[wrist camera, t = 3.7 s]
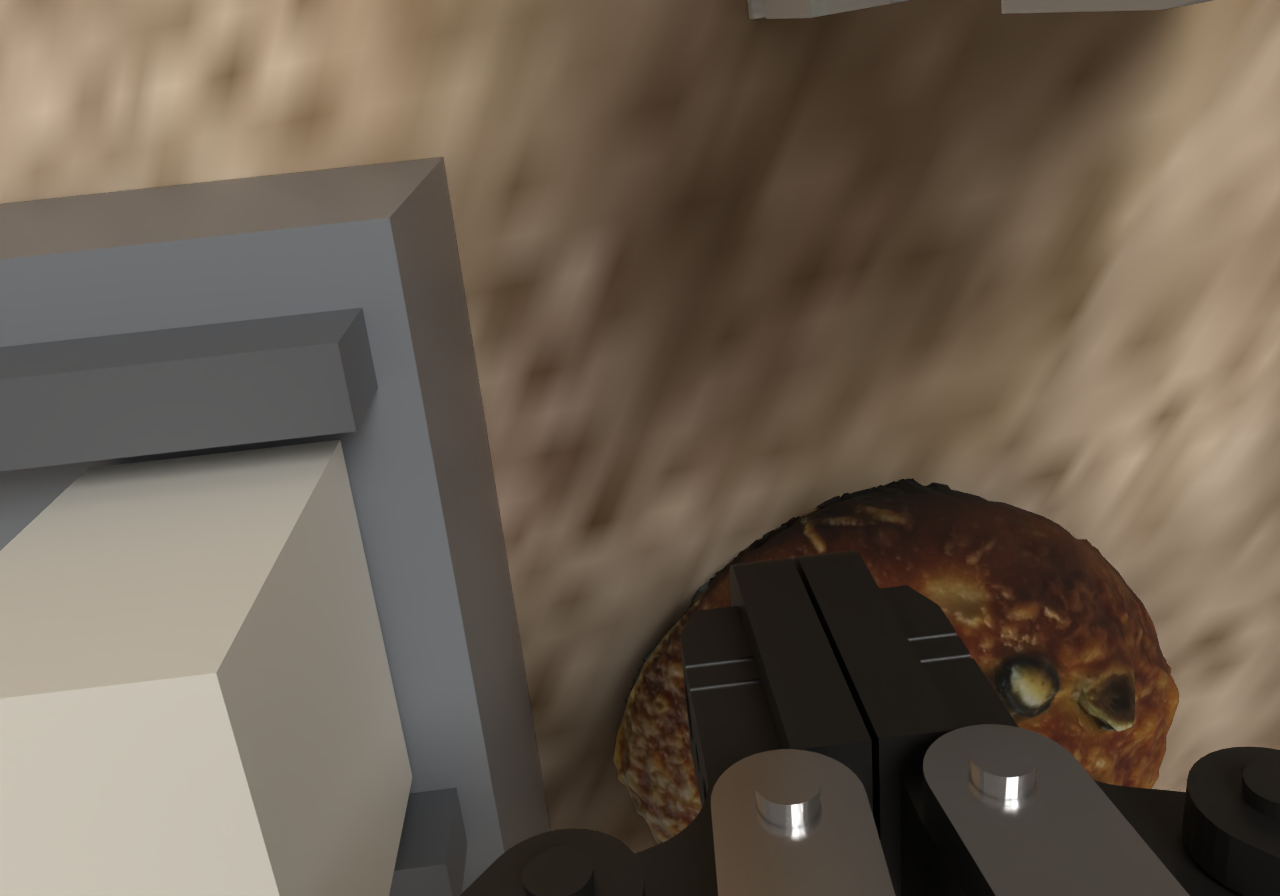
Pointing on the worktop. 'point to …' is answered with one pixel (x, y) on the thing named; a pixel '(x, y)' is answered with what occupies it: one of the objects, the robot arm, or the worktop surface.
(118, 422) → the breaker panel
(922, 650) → the robot arm
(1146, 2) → the circuit breaker
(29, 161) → the worktop surface
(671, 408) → the worktop surface
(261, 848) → the block
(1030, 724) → the bread roll
